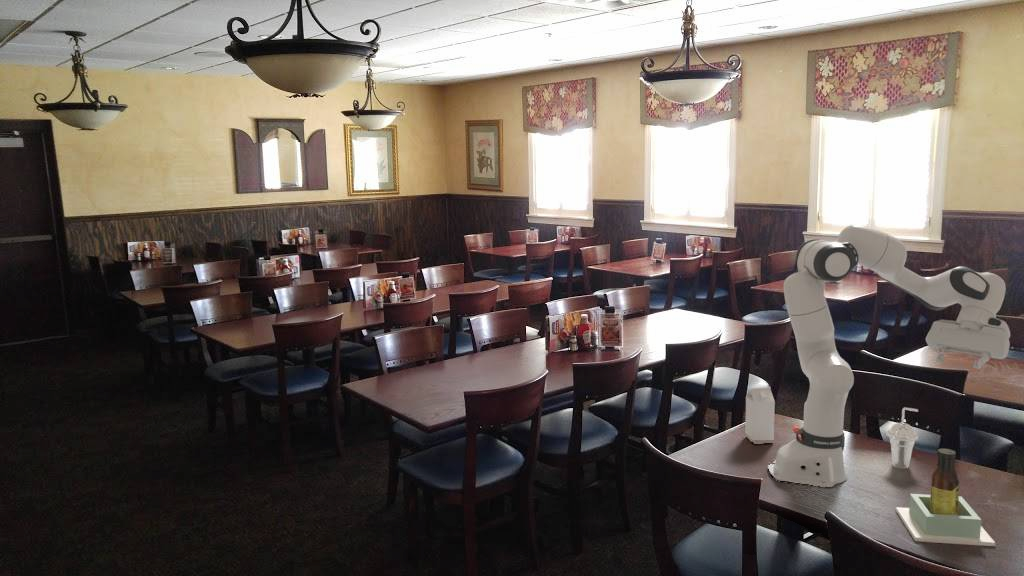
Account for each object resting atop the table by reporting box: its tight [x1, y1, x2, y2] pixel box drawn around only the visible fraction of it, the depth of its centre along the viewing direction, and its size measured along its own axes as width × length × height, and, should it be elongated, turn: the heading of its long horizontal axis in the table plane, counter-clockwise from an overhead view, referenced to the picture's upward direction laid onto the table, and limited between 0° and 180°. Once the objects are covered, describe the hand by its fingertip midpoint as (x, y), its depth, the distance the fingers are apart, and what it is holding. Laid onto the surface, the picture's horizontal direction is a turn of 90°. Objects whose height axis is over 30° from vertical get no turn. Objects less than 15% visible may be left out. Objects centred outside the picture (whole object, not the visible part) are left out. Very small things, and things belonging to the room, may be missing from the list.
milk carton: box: [744, 386, 776, 441], centre depth 246 cm, size 7×7×19 cm
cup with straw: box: [886, 407, 920, 470], centre depth 223 cm, size 8×9×20 cm
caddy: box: [895, 493, 996, 547], centre depth 188 cm, size 18×16×6 cm
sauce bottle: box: [930, 448, 960, 516], centre depth 186 cm, size 7×6×20 cm
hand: (957, 364), depth 203 cm, fingers open, 8 cm apart
